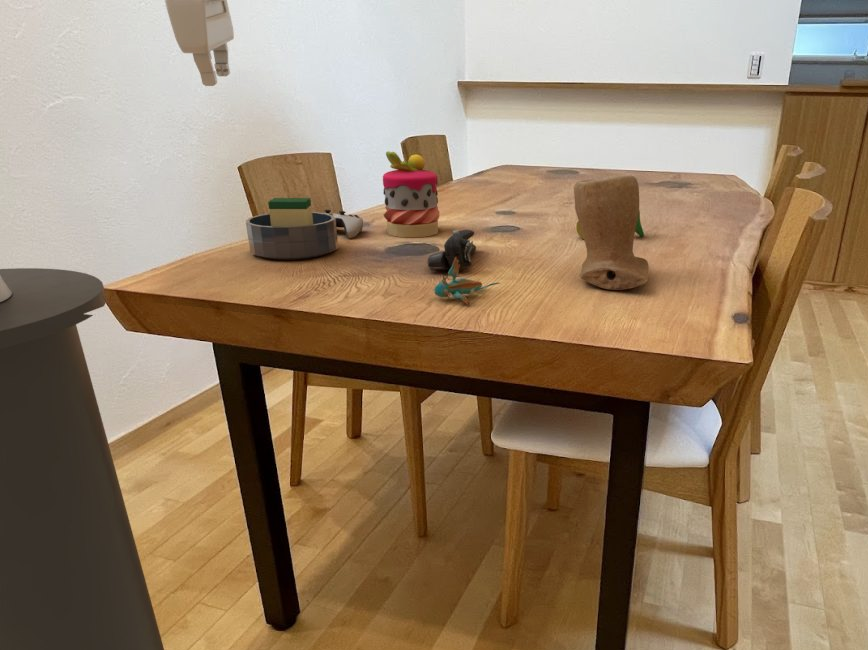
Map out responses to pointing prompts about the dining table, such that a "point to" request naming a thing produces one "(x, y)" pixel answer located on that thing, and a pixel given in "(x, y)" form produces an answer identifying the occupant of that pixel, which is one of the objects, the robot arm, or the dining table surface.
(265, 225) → the bowl
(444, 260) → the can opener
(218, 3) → the robot arm
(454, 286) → the dragon figurine
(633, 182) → the brown clay sculpture
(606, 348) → the dining table surface
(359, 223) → the gaming controller
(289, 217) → the sponge
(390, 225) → the cake
